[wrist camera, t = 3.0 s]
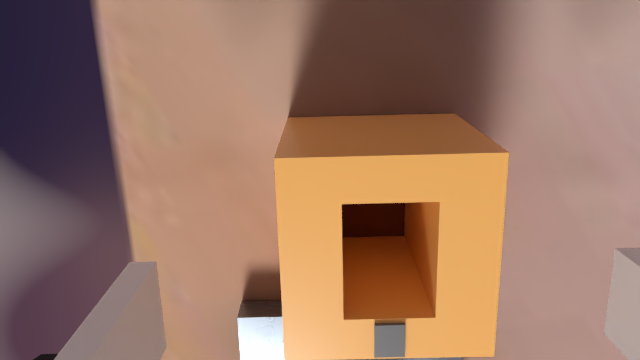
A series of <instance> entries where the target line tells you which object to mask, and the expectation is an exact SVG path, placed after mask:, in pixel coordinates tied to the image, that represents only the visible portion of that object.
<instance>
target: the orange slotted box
mask: <svg viewBox="0 0 640 360" xmlns="http://www.w3.org/2000/svg"><path fill="white" fill-rule="evenodd" d="M508 160H509V152H508V151H506V150H505V149H503V148H502V147H501V146H499V145H498V144H497V143H495V142H494V141H492V140H491V139H490V138H488V137H487V136H485V135H484V134H483V133H481V132H480V131H478V130H477V129H476V128H474V127H473V126H472V125H470V124H469V123H467V122H466V121H465V120H463V119H462V118H460V117H459V116H458V115H456V114H455V113H443V114H404V115H365V116H326V117H288V119H287V122H286V125H285V128H284V131H283V134H282V137H281V140H280V142H279V145H278V148H277V151H276V154H275V157H274V167H275V186H276V205H277V224H278V244H279V263H280V282H281V302H282V321H283V340H284V359H285V360H345V359H394V358H442V357H490V356H494V349H495V336H496V322H497V309H498V295H499V282H500V268H501V255H502V241H503V227H504V214H505V200H506V187H507V173H508ZM371 203H405V235H404V236H379V237H342V204H371Z"/></svg>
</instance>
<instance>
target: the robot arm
mask: <svg viewBox="0 0 640 360" xmlns="http://www.w3.org/2000/svg"><path fill="white" fill-rule="evenodd" d="M604 334H605V335H606V336H607V337H608V339H609V340H610V341H611V342H612V343H613V344H614V345H615V346H616V347H617V348H618V349H619V350H620V351H621V352H622V353H623V355H624V356H625V357H626V358H627V359H628V360H640V248H617V249H615V254H614V261H613V269H612V277H611V284H610V292H609V300H608V307H607V315H606V323H605V330H604ZM165 348H166V339H165V331H164V322H163V314H162V305H161V297H160V288H159V280H158V271H157V263H156V262H129V264H128V265H127V266H126V268H125V269H124V270H123V271H122V273H121V274H120V275H119V277H118V278H117V279H116V280H115V282H114V283H113V284H112V286H111V287H110V288H109V289H108V291H107V292H106V294H105V295H104V296H103V297H102V298H101V300H100V301H99V302H98V304H97V305H96V306H95V308H94V309H93V310H92V311H91V313H90V314H89V315H88V316H87V318H86V319H85V320H84V322H83V323H82V324H81V326H80V327H79V328H78V329H77V330H76V332H75V333H74V334H73V336H72V337H71V338H70V340H69V341H68V342H67V343H66V345H65V346H64V347H63V349H62V350H61V351H60V352H59V354H41V355H39V356H38V357H37V358H35V359H34V360H160V359H161V357H162V355H163V353H164V350H165Z"/></svg>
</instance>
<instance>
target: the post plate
mask: <svg viewBox="0 0 640 360" xmlns="http://www.w3.org/2000/svg"><path fill="white" fill-rule="evenodd" d="M237 321H238V334H239V347H240V359H241V360H285V359H284V340H283V321H282V302H281V300H261V301H242V303H241V306H240V310H239V313H238V317H237ZM345 360H462V357H442V358H394V359H345Z"/></svg>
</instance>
